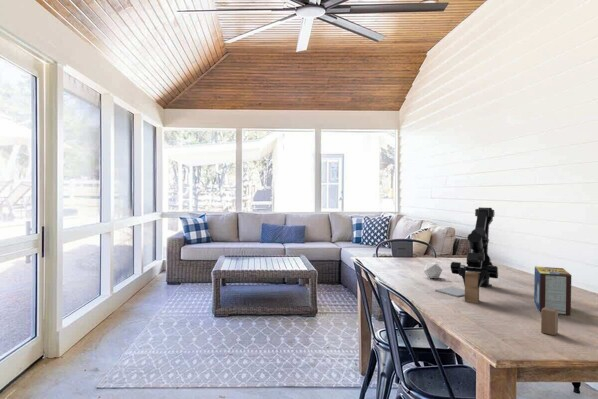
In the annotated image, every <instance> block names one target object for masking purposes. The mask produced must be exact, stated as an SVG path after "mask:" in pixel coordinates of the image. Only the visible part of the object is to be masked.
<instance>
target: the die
mask: <svg viewBox="0 0 598 399" xmlns="http://www.w3.org/2000/svg"><path fill="white" fill-rule="evenodd" d="M442 271H443V268H442V267H441V266H440V265H439V264H438V262H426V264H425V267H424V269H423V272H424V274H425V276H426V277H427V278H428V279H429V278H439V279H440V276H441V274H442Z"/></svg>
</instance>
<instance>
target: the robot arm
mask: <svg viewBox="0 0 598 399" xmlns="http://www.w3.org/2000/svg"><path fill="white" fill-rule="evenodd" d="M474 214H475V215H474V216H475V217H476V221H475V228H474V229H473V230H471V233H469V234H468V235H467V244H468V247H469V252H467V253H466V265H465V264H462V263H461V262H460V261H459V262H458V261H452V262H451V263H450V270H451V273H452V274H453V275H459V277H461V278H462V280H463V284H464V285H463V286H464V287H465V273H466V272H467V271H469V272H478V273H480V275H479V282H478V288H479V289H480V287H484V288H487V287H492V286H493V284H491V283H490V278H491V279H499V268H498V266H497V265H494V264H493V262H492V259H491V257H490V255H489V252H488V251H489V242H490V239H489V234H490V233H489V232H490V225H491V224H492V222H493V221H494V218H495V214H496V213H495V209H493V208H492V207H481V206H480V207H478V208H475V212H474Z"/></svg>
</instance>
